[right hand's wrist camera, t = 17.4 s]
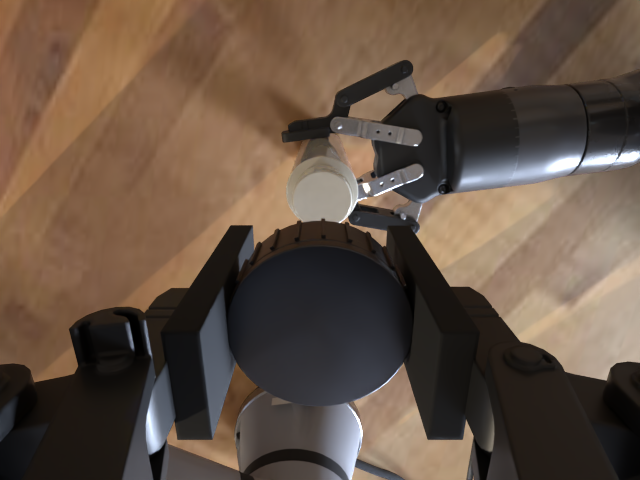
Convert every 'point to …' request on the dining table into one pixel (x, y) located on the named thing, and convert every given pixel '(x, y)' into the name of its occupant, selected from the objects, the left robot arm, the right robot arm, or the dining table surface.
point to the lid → (320, 314)
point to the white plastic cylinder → (322, 181)
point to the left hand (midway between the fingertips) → (288, 166)
